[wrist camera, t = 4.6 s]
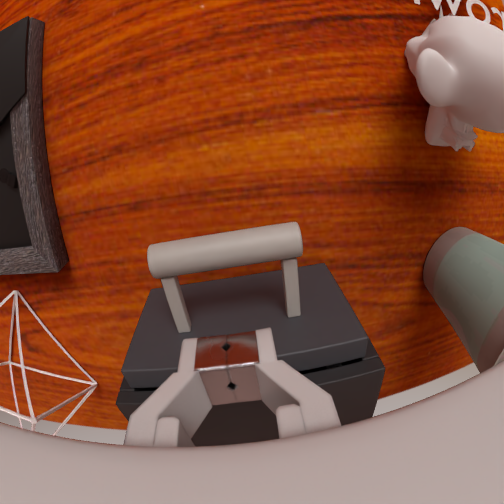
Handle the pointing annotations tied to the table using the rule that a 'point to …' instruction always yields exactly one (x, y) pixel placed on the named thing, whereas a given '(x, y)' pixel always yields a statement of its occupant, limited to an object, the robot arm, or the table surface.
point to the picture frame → (25, 158)
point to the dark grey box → (263, 419)
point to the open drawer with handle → (242, 304)
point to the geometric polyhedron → (33, 419)
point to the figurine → (459, 75)
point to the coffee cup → (470, 291)
